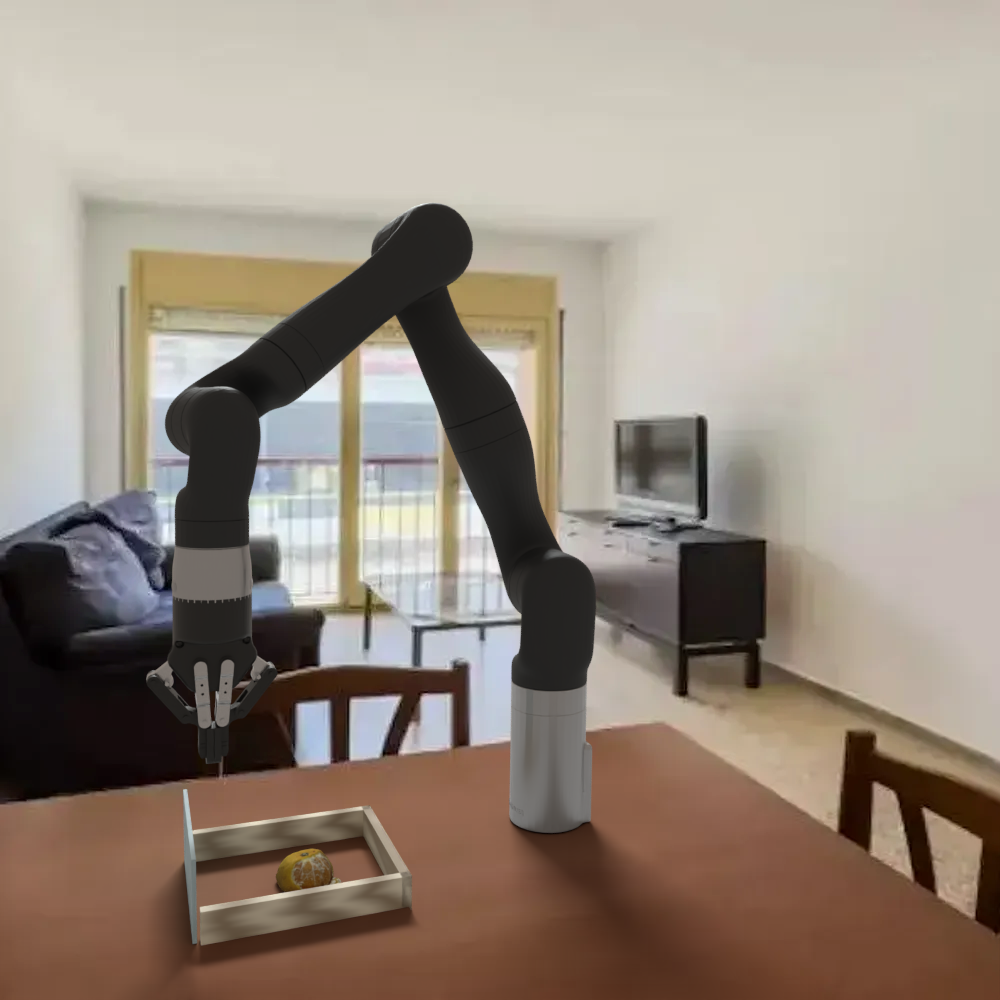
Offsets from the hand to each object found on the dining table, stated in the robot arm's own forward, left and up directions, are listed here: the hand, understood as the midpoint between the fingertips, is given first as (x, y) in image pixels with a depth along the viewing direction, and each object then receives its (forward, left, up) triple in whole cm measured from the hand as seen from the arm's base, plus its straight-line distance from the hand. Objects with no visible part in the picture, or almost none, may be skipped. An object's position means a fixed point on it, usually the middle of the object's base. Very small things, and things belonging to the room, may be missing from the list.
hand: (213, 760), depth 92 cm
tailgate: (+2, 0, -14) cm, 14 cm away
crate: (-8, 0, -14) cm, 16 cm away
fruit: (-10, +2, -15) cm, 18 cm away
